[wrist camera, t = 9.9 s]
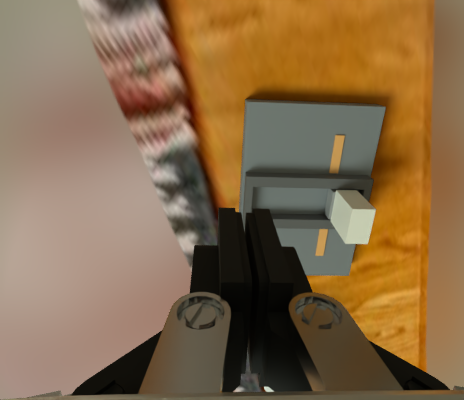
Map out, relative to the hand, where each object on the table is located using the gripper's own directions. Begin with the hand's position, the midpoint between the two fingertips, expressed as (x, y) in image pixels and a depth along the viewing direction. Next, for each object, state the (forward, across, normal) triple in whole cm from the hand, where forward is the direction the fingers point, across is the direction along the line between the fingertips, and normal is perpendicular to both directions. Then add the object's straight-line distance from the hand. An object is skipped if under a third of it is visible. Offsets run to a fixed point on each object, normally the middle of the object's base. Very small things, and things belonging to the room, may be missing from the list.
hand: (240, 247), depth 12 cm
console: (+29, -10, +10) cm, 32 cm away
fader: (+27, -14, +10) cm, 32 cm away
